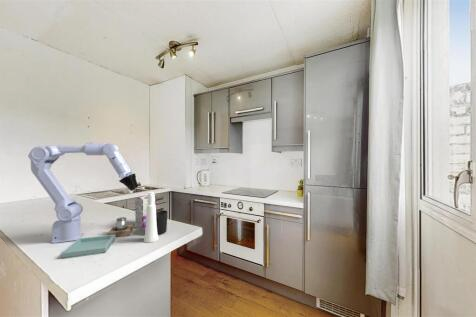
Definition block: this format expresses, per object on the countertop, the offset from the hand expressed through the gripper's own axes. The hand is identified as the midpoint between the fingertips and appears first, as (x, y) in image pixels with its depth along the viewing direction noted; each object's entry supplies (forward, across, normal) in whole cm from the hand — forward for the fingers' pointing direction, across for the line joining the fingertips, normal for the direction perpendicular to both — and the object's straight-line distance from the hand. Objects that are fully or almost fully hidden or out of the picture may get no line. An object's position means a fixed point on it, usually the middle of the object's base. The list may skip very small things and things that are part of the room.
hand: (134, 188), depth 97 cm
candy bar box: (+21, +9, +7) cm, 24 cm away
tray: (+13, -13, +23) cm, 29 cm away
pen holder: (+25, -4, +1) cm, 25 cm away
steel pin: (+16, 0, +16) cm, 23 cm away
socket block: (+16, 0, +16) cm, 23 cm away
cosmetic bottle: (+24, -13, +3) cm, 27 cm away
